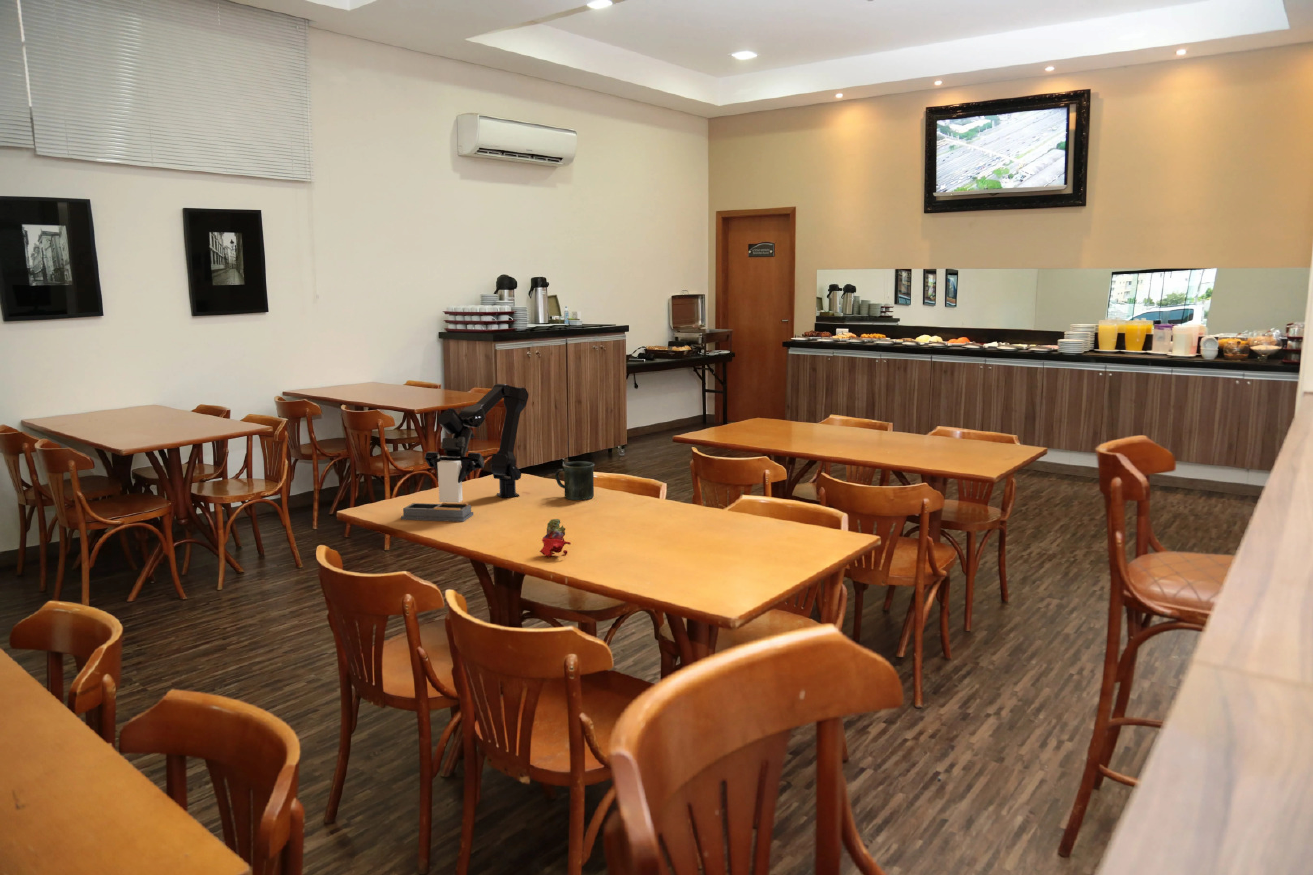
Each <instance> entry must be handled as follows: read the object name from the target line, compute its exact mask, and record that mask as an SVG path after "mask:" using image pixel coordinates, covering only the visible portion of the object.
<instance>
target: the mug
mask: <svg viewBox="0 0 1313 875" xmlns="http://www.w3.org/2000/svg"><path fill="white" fill-rule="evenodd" d="M595 465H596V464H595V463H594V462H591V461H579V460H578V461H568V462H564V463H563V464H562V467H563V468H557V469H556V471H555V475H554V477H555V480H556V482H557V485H558V486H559V487H560V488H562V489H564V497H565V499H567V500H572V501H583V500H584V501H585V500H591V499H593V497H594V495H595V494H594V493H595V490H594V489H595V486H594V483H595V482H594V481H595V480H594V476H595V475H594V466H595ZM561 472H563V477H564V481H563V482H564V483H563V482H562V481H561V479H560V473H561Z"/></svg>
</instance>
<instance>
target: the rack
mask: <svg viewBox="0 0 1313 875" xmlns="http://www.w3.org/2000/svg"><path fill="white" fill-rule="evenodd" d="M402 513H403V514H402V515H401V516H400V520H402V521H403V520H404V521H433V522H434V521H436V522H459V523H460V522H461V523H463V522H465V521H467V520H468V519H470V518H472V517H473V516H474V511H472V506H471V504H469V503H467V502H466V503H463V502H459V503H452V502H441V503H427V502H426V503H425V502H424V503H421V502H419V503H418V502H413V503H411V504H409V505H407V506H405V507H404V508H403V509H402Z"/></svg>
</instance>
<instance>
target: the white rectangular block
mask: <svg viewBox="0 0 1313 875" xmlns="http://www.w3.org/2000/svg"><path fill="white" fill-rule="evenodd" d="M437 464H438V481H437V483H438V499H439V500H438V502H439V503H462V501H463V483H462V482H463V480H462V481H461V482H460V483H458V477H459V474H460V471H461V468H462V463H461V461H449V460H441V461H439V462H437Z"/></svg>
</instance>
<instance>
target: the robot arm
mask: <svg viewBox="0 0 1313 875" xmlns="http://www.w3.org/2000/svg"><path fill="white" fill-rule="evenodd" d="M502 399H503V405H504V408H505V415H504V421H503V427H502V433H501V439H500V445H499V449H498V451H497V452H495V453H492V455H491V461H490V464H489V465H490V470H491V473H492V476H493V480H499V482H498V483H499V492H496V496H497V497H499V498H501V499H506V498H507V499H508V498H515V497H520V494H519V493H517V492H516V491H517V488H516V487H517V486H516V481H519V480H521V477H522V472H521V471H520V469H519V468H518V466H517V459H516V456H515V453H514V450H515V445H516V440H517V439H516V438H517V433H518V427H519V422H520V415H521V413H522V411H523V410H524V409H525V408H526V406H527V403H528V400H529V391H528V390H527V389H526V387H522V386H521V387H520V386H519V387H517V386H511V385H508V384H506V383H496V384H494V385H493V386H492V388H491V389H490V390H488V392H487V393H485V395H483V396H482V397H481V399H479V400H478V401H477V402H476V403H475V404H473V405H469V406H467V407H465V408H463V409H462V410H460V412H459V413H457V411H456V409H455V408H451V407H448V409H447V410H445V411H443V412H442V413H441V414H439V416H438V417H437V423H438V424H439V425H440V426H441V427H442V428H443V429H444V430H445V431H446V433H447V434H449V435H452V436H451V437H442V440H441V448H442V449H444V451H443V452H444V454H445V455H441V454H440V453H439V452H438V451H427V452H426V453H425V454H424V457H423V459H424V460H425V461H426V462H425V463H426V464H427V465H428V466H429V468H431V469H432V468H434V469H435V472H436V479H437V482H438V464H437V462H439V461H441V460H449V461H461V471H460V474H459V477H458V483H460V482H461V481H462V482H463V480H464V479H465V478H466V477H467V476H468V475H470V474H471V473H473V471H476V470H480V469H481V470H483V469H484V467H485V462H486V461H485V459H484V458H483V456H482V453H481V452H469V448H468V446H469V442H470V439H474V438H475V434H474V432H473V430H472V429H471V428H480V427H481V426H482V425H483V422H485V420H486V418H487V417H486V416H487V414H488V413H489V412H490V411H491V410H492V409H493V408H494V407H495V406H496V405H497V404H498V403H499V402H501V400H502ZM467 453H468V454H467ZM466 455H467V456H466Z"/></svg>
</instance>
